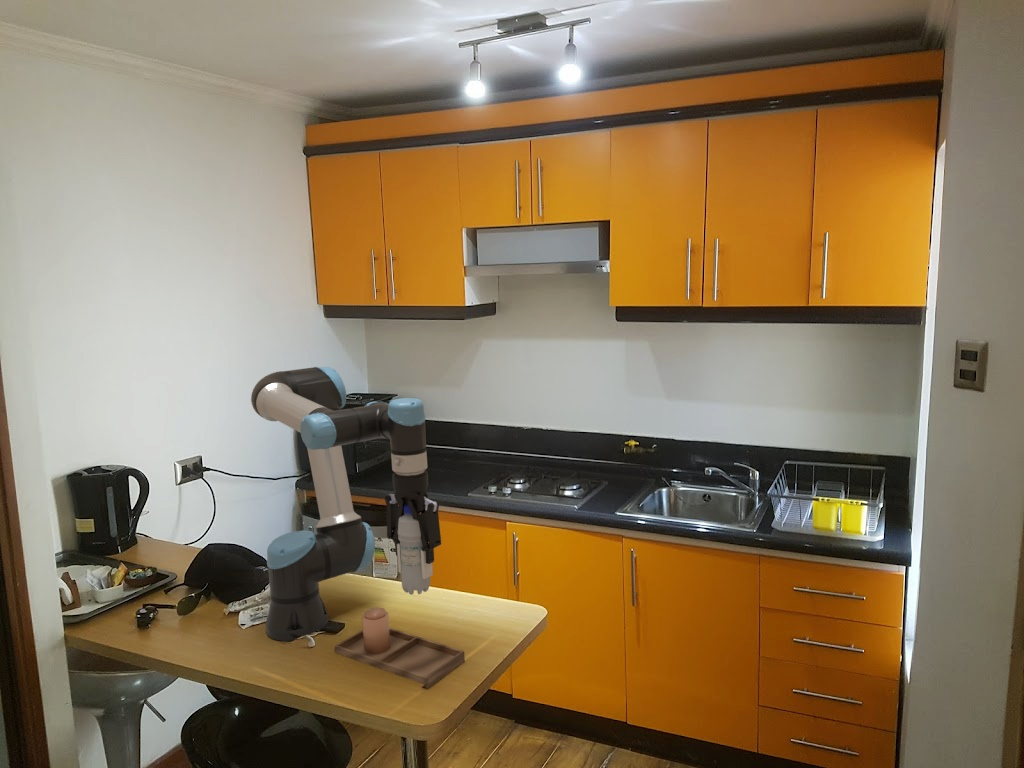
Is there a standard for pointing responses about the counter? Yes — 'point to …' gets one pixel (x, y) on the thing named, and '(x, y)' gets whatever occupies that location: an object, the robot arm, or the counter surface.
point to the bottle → (411, 554)
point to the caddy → (406, 656)
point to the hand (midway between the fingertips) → (415, 573)
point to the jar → (376, 630)
